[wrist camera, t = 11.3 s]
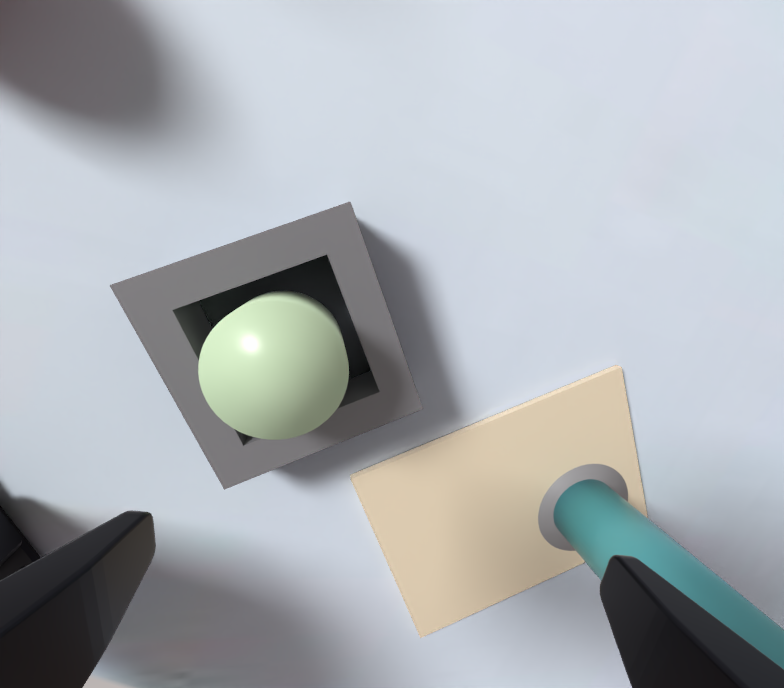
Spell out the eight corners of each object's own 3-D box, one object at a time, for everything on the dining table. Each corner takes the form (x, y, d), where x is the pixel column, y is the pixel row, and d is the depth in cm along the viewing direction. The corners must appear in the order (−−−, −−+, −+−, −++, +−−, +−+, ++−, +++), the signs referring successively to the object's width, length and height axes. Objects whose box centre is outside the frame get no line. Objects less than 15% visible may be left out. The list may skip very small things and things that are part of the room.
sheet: (419, 631, 23) (420, 638, 23) (350, 474, 20) (350, 479, 20) (645, 528, 25) (650, 532, 24) (616, 364, 21) (621, 367, 21)
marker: (540, 531, 23) (804, 867, 10) (571, 470, 22) (893, 752, 10) (595, 544, 24) (894, 865, 11) (626, 487, 23) (980, 760, 11)
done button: (255, 417, 16) (238, 460, 13) (203, 315, 15) (170, 333, 12) (359, 377, 17) (368, 408, 13) (318, 273, 15) (317, 279, 12)
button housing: (239, 452, 19) (224, 489, 16) (147, 279, 16) (109, 285, 13) (408, 385, 19) (423, 409, 17) (345, 209, 17) (350, 201, 14)
